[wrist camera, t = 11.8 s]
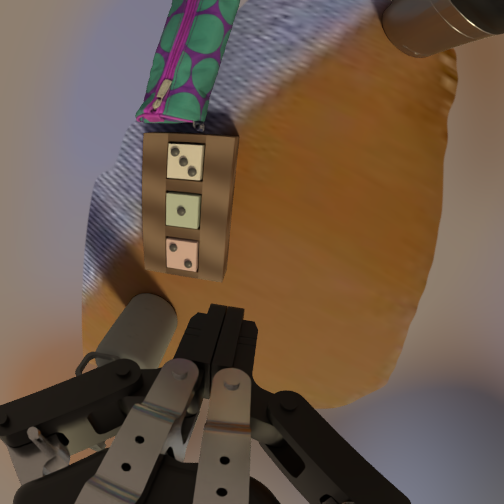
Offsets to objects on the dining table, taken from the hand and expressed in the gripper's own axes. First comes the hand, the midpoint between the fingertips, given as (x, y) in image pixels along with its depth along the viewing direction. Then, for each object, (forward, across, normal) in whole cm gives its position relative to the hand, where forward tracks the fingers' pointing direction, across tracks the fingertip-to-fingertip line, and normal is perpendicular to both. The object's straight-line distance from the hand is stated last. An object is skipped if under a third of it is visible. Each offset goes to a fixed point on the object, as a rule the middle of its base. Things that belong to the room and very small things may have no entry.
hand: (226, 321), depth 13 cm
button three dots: (+27, +10, -3) cm, 29 cm away
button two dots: (+27, +10, +10) cm, 30 cm away
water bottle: (+28, +17, +25) cm, 42 cm away
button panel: (+28, +10, +4) cm, 30 cm away
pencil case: (+29, +11, -18) cm, 36 cm away
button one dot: (+27, +10, +4) cm, 29 cm away
